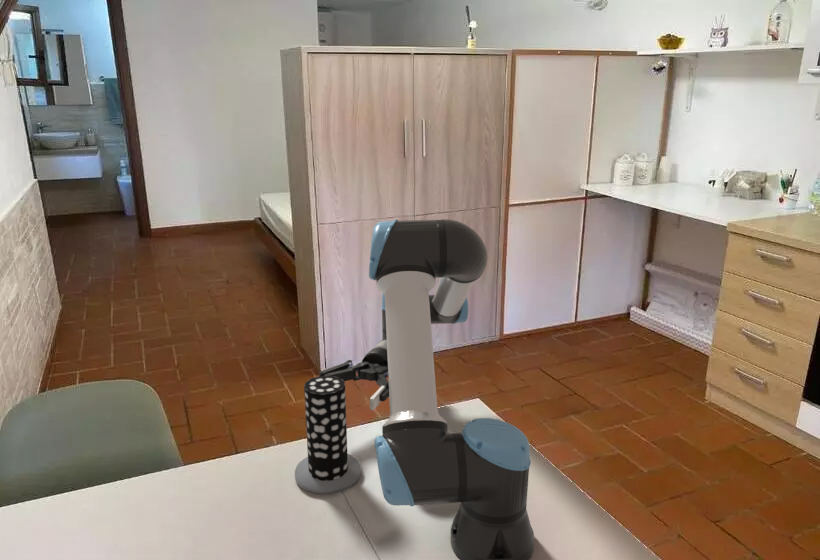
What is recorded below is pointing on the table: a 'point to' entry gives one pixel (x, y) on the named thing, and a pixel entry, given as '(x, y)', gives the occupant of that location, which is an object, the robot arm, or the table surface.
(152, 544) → the table surface
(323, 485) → the dish
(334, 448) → the white-spotted black cylinder
